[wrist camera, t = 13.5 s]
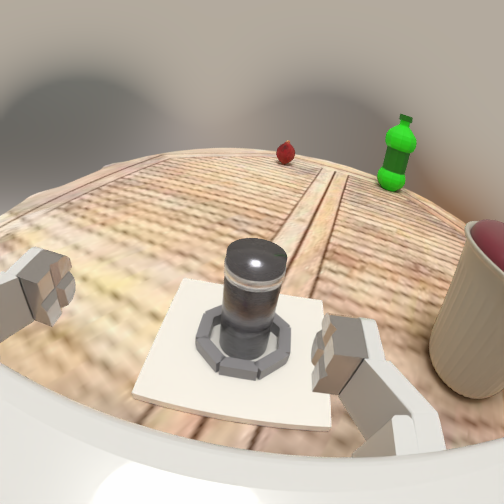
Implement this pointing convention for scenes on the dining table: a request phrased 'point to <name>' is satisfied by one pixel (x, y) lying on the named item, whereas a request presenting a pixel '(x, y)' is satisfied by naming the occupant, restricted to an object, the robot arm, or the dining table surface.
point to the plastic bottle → (397, 155)
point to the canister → (473, 316)
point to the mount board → (235, 364)
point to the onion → (285, 152)
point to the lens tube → (250, 296)
